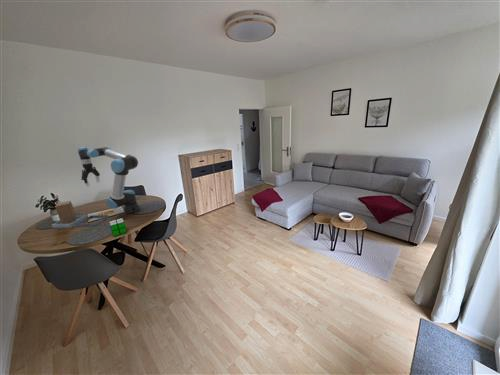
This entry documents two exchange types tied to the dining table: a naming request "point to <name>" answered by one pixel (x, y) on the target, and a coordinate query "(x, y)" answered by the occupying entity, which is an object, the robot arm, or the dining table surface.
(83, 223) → the collar
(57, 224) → the bin
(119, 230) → the puzzle cube
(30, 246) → the dining table surface
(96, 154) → the robot arm
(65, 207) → the wooden block
